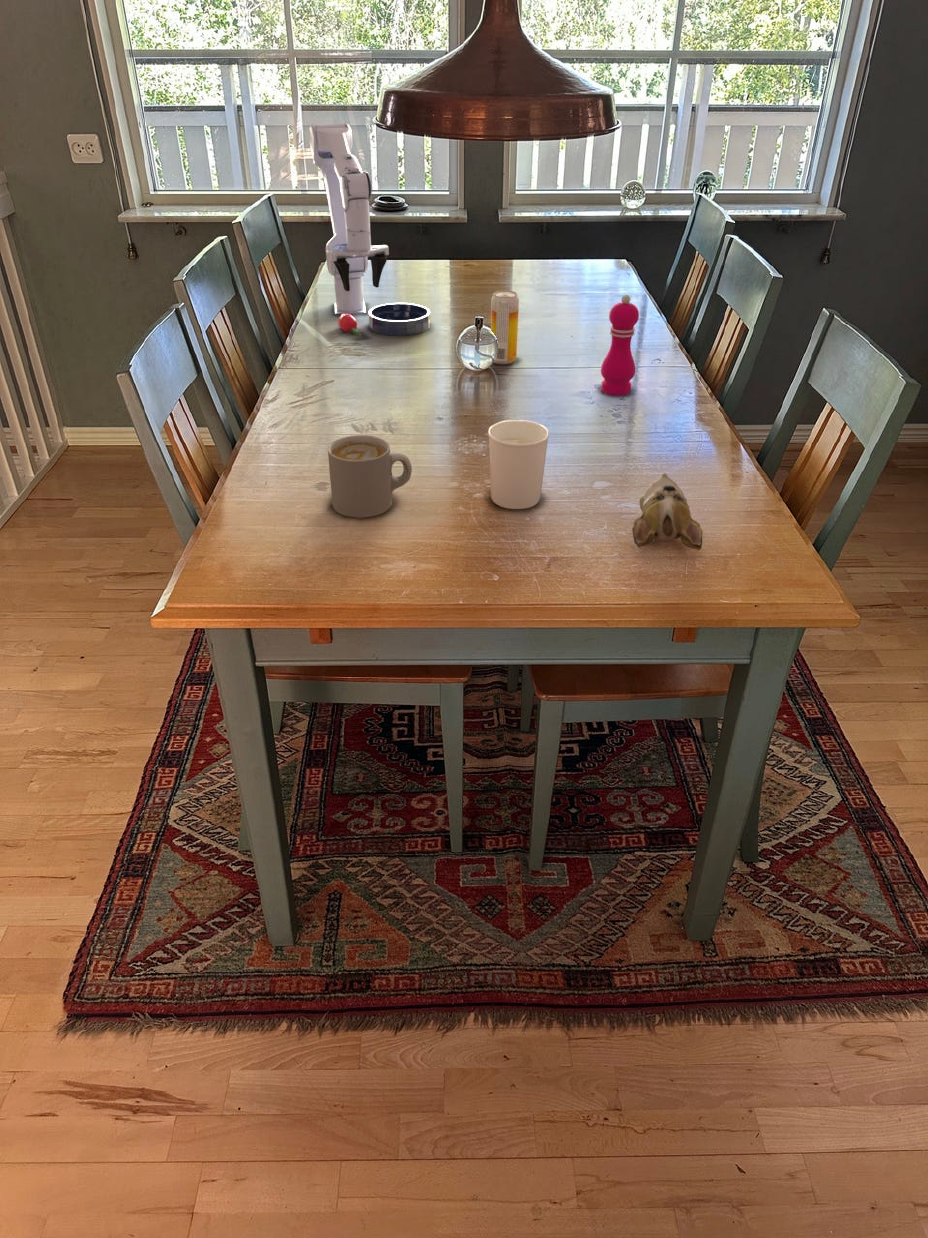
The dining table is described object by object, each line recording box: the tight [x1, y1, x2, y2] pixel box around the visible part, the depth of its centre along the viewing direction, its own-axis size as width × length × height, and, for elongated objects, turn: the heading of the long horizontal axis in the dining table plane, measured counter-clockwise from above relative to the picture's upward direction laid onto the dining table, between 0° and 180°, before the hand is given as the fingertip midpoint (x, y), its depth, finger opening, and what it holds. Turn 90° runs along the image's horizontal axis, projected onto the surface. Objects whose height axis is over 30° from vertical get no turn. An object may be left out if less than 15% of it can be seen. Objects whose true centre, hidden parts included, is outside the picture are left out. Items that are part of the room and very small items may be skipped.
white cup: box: [487, 419, 550, 510], centre depth 148 cm, size 10×10×12 cm
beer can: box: [490, 289, 520, 365], centre depth 202 cm, size 6×6×15 cm
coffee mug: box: [327, 434, 413, 519], centre depth 146 cm, size 13×10×10 cm
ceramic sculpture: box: [631, 472, 703, 551], centre depth 139 cm, size 11×9×15 cm
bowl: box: [368, 302, 431, 337], centre depth 224 cm, size 15×15×4 cm
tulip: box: [337, 313, 362, 338], centre depth 219 cm, size 11×4×4 cm, turn 27°
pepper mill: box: [600, 294, 640, 397], centre depth 186 cm, size 7×7×20 cm
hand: (361, 288), depth 220 cm, fingers open, 7 cm apart
